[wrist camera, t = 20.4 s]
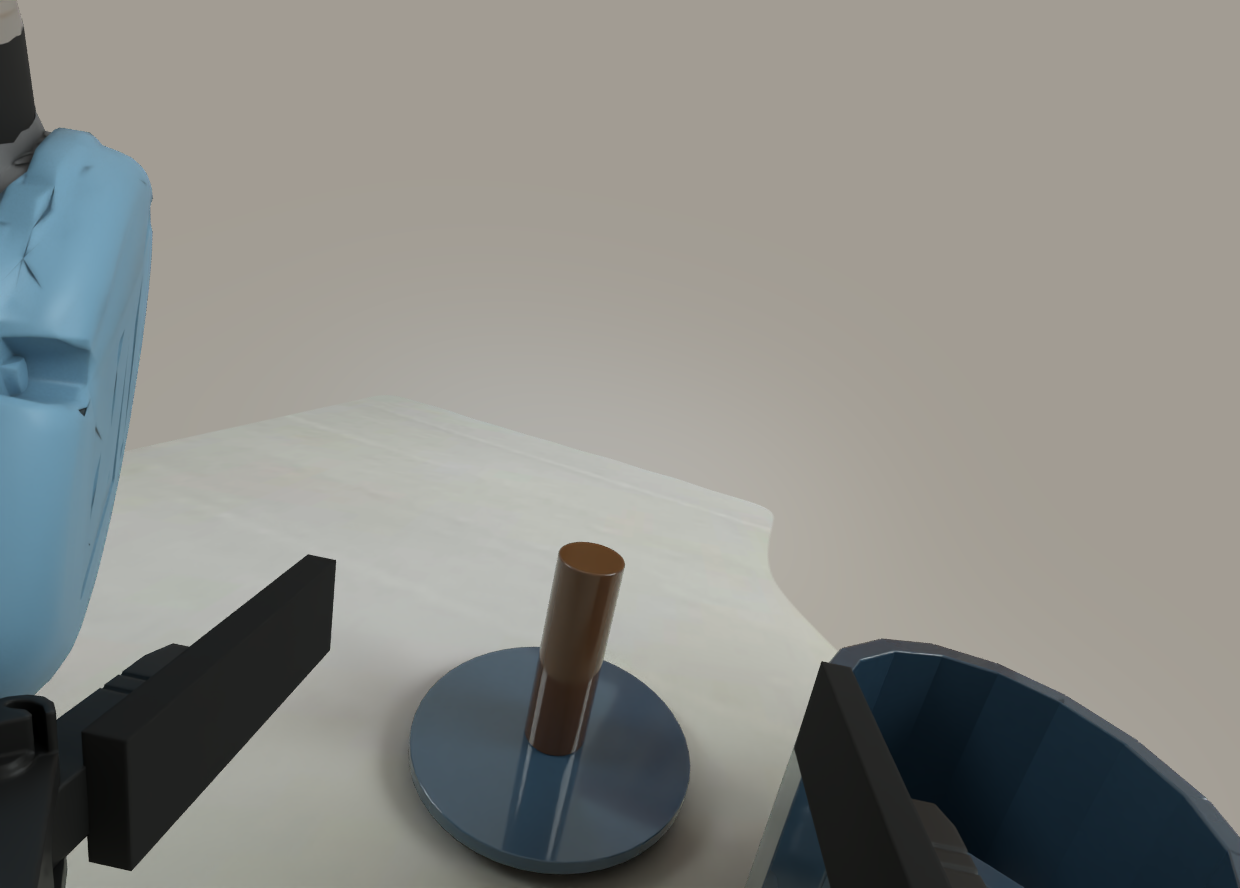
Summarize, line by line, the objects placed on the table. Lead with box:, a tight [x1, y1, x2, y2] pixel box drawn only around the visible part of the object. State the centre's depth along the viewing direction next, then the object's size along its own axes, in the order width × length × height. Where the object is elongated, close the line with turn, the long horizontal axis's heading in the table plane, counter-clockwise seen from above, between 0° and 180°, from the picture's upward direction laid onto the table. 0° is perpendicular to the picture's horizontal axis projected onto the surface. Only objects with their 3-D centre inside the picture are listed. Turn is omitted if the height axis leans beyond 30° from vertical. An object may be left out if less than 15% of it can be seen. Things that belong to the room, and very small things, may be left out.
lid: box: [408, 542, 690, 875], centre depth 28 cm, size 13×13×10 cm
